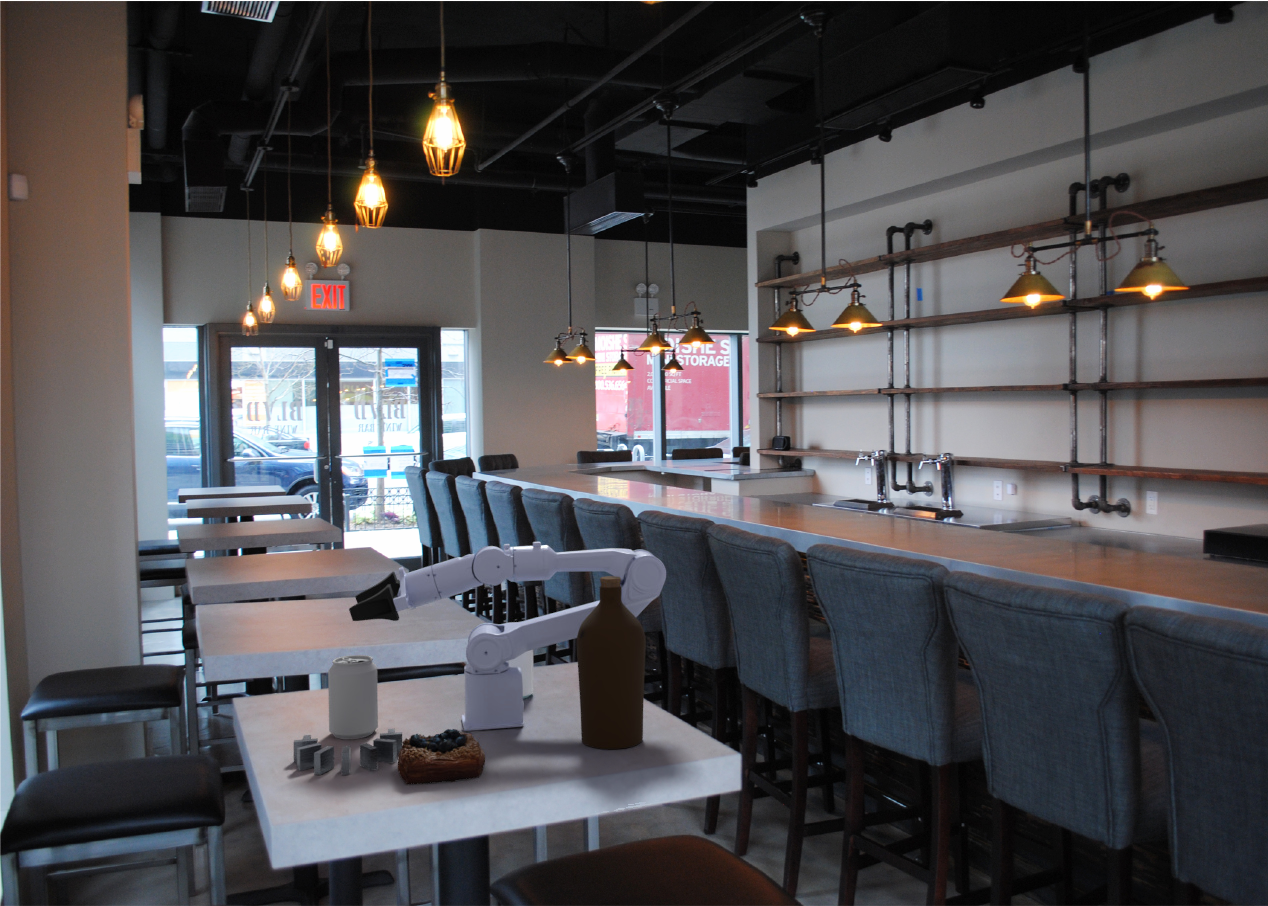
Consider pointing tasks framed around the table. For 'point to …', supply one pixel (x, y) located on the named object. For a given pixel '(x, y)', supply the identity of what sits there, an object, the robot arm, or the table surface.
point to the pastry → (440, 758)
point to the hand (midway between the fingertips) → (354, 608)
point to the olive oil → (611, 672)
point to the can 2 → (525, 671)
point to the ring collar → (346, 753)
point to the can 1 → (353, 697)
